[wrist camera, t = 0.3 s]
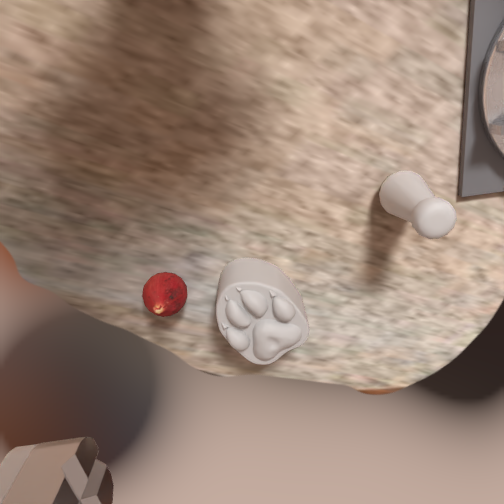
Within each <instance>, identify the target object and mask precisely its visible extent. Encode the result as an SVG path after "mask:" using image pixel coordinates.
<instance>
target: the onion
mask: <svg viewBox="0 0 504 504" xmlns="http://www.w3.org/2000/svg"><path fill="white" fill-rule="evenodd" d="M142 297H143V300H144V304H145V306H146V307H147V308H148V310H149V311H150V312H152V313H154V314H155V315H158V316H162V317H164V316H171V315H173V314H175V313H177V312H178V311H179V310H180V309H181V308H182V307H183V306H184V304H185V302H186V299H187V287H186V284H185V283H184V281H183V280H182V278H180V277H179V276H177V275H175V274H173V273H167V272H164V273H157V274H156V275H154V276H152V277H151V278H150V279H149V280H148V281H147V283H146V284H145V285H144V288H143V294H142Z"/></svg>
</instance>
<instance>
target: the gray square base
mask: <svg viewBox="0 0 504 504" xmlns="http://www.w3.org/2000/svg"><path fill="white" fill-rule="evenodd" d="M503 20H504V0H471V2H470V18H469V34H468V50H467V66H466V82H465V98H464V113H463V129H462V145H461V161H460V177H459V193H458V195H459V196H461V197H466V196H473V195H480V194H488V193H495V192H502V191H504V158H502V157H501V155H500V154H499V153H498V152H497V151H496V150H495V149H494V147H493V146H492V144H491V143H490V141H489V140H488V137H487V135H486V133H485V131H484V128H483V125H482V121H481V117H480V110H479V83H480V76H481V71H482V67H483V63H484V59H485V56H486V54H487V51H488V48H489V46H490V43H491V41H492V39H493V37H494V35H495V33H496V31H497V29H498V27H499V26H500V24H501V23H502V21H503Z"/></svg>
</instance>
